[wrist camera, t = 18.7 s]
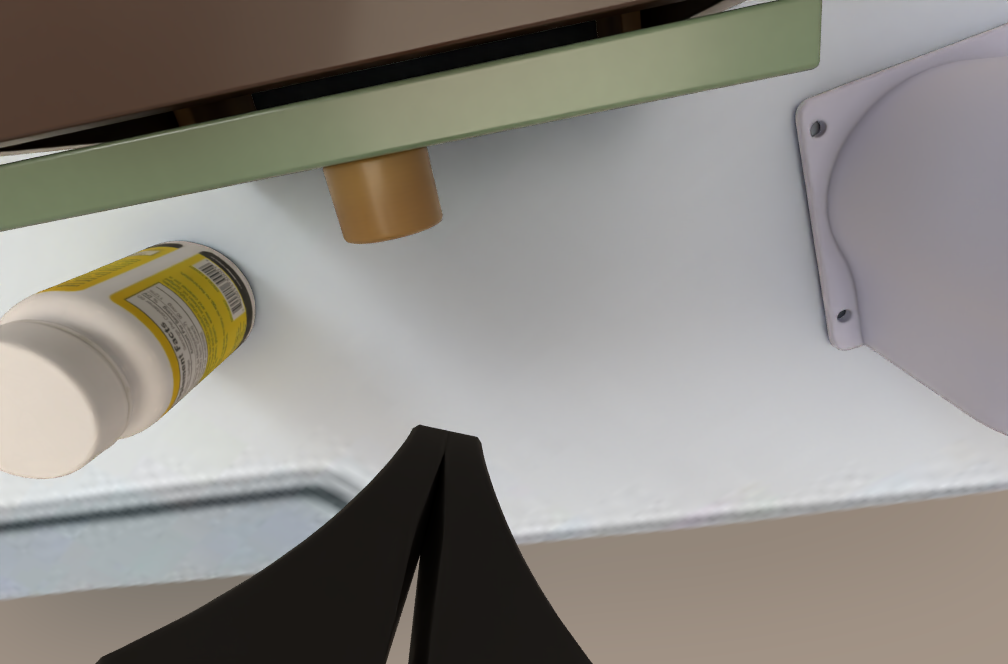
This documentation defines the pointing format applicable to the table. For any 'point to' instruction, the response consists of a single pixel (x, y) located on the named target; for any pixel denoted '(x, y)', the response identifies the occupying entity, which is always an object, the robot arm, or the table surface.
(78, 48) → the cabinet
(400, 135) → the drawer
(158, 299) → the supplement bottle
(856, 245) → the robot arm
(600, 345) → the table surface
